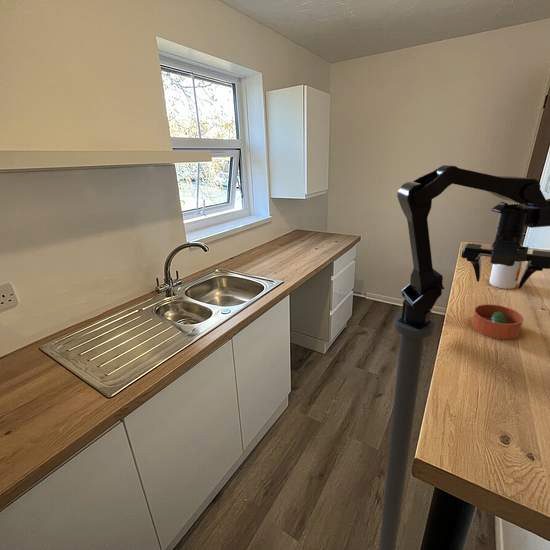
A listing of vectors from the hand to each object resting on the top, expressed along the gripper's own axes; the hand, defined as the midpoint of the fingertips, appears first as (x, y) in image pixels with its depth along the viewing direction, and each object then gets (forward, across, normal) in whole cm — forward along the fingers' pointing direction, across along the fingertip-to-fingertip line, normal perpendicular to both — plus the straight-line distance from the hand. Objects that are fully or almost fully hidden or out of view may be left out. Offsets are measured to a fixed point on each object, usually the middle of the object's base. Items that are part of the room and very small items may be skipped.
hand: (497, 284), depth 82 cm
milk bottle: (+12, +1, +28) cm, 31 cm away
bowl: (+12, +2, -4) cm, 12 cm away
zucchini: (+11, +1, -4) cm, 11 cm away
